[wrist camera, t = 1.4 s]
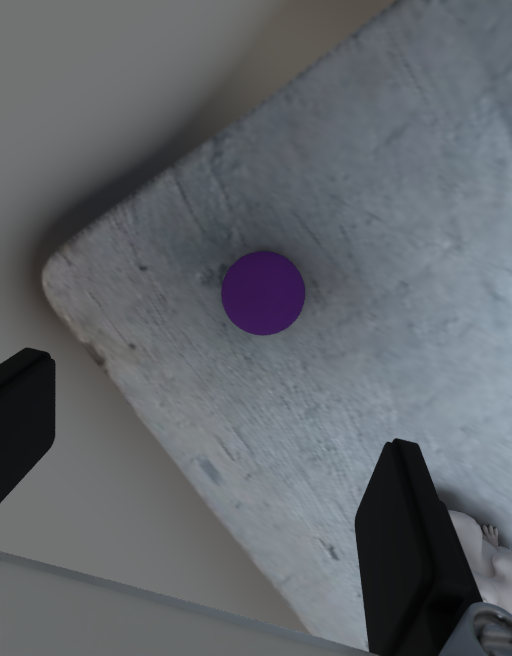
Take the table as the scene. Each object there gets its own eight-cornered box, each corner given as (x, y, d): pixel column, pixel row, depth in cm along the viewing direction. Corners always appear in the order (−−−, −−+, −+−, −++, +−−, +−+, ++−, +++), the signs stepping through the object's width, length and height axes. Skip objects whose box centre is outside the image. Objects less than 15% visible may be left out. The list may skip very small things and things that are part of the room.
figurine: (454, 449, 26) (563, 683, 14) (553, 592, 30) (704, 871, 18) (345, 496, 29) (364, 725, 17) (447, 622, 32) (521, 881, 21)
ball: (237, 235, 23) (220, 252, 19) (314, 253, 22) (314, 275, 18) (224, 307, 24) (206, 337, 20) (295, 324, 24) (291, 358, 20)
